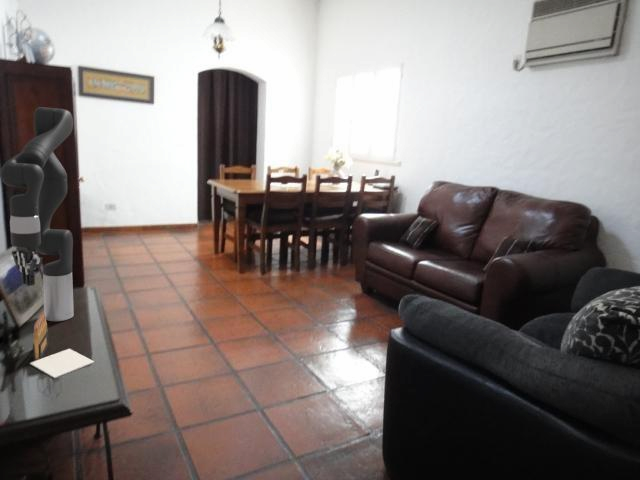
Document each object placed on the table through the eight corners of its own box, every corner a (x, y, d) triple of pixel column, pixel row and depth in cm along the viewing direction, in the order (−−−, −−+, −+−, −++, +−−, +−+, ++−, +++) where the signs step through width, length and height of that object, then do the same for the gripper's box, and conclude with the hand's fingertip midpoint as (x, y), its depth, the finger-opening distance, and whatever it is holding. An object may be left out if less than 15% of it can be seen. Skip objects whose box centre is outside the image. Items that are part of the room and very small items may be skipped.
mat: (29, 364, 132) (29, 362, 132) (69, 349, 142) (69, 348, 142) (54, 378, 126) (54, 377, 125) (94, 362, 136) (94, 361, 136)
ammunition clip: (40, 360, 134) (38, 323, 132) (33, 360, 134) (31, 323, 131) (48, 344, 144) (47, 309, 142) (42, 344, 144) (40, 310, 141)
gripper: (51, 232, 134) (53, 286, 137) (26, 224, 140) (29, 276, 144) (24, 235, 127) (27, 292, 131) (0, 227, 134) (3, 281, 137)
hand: (28, 284), depth 137 cm, fingers closed
